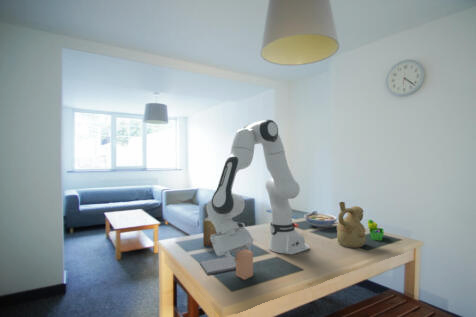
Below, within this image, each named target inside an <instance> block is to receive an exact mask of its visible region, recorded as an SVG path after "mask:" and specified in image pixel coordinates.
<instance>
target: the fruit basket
mask: <svg viewBox="0 0 476 317" xmlns="http://www.w3.org/2000/svg"><path fill="white" fill-rule="evenodd" d="M366 223H367V228H368V230H369V234H370V237H371V240H373V241H380V242H381V241H382V240H383V236H384V234H385V232H384V228H381V227H378V223H377V222H375V221H374V220H373V219H367V222H366Z"/></svg>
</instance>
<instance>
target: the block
mask: <svg viewBox="0 0 476 317" xmlns="http://www.w3.org/2000/svg"><path fill="white" fill-rule="evenodd" d="M235 259H236V269H235V276H236V277H238V278H240V279H242V280H244V281H245V280H247V279H249V278H252V277H253V276H254V251H251V250H250V251H249V250H246V249H245V248H242V249H239V250H236V251H235Z"/></svg>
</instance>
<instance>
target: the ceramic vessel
mask: <svg viewBox="0 0 476 317" xmlns="http://www.w3.org/2000/svg"><path fill="white" fill-rule="evenodd" d="M338 205H339V209H340V210H339V213H338V216H337V219H338V223H337V225H336V231H337V232H336V237H337V242H338V244H339V245H341V246H343V247H345V248H351V249H356V248H357V249H358V248H361V247H363V246H364V245H365V244H366V242H367V237H366V228H365V226H364V225H363V224H362V220H363V218H364V209H363V208H362V207H361V206H359V205H357V206H356V205H354V206H352V207H347V208H346V202H345V201H339V202H338ZM345 214H347V215H346V216H345ZM344 216H345V218H344Z"/></svg>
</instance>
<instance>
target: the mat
mask: <svg viewBox="0 0 476 317" xmlns="http://www.w3.org/2000/svg"><path fill="white" fill-rule="evenodd" d="M199 265H200V266H201V268H202V269H203V271H204V272H205V274H206V275H207V276H208V275H213V274H218V273H223V272H228V271H234V270H236V261H235V262H234V263H231V261H230V260H229V259H228V258H227V257H226V256H225V257H219V258H218V257H217V258H215V259H214V258H213V259H208V260H201V261H199Z"/></svg>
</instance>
